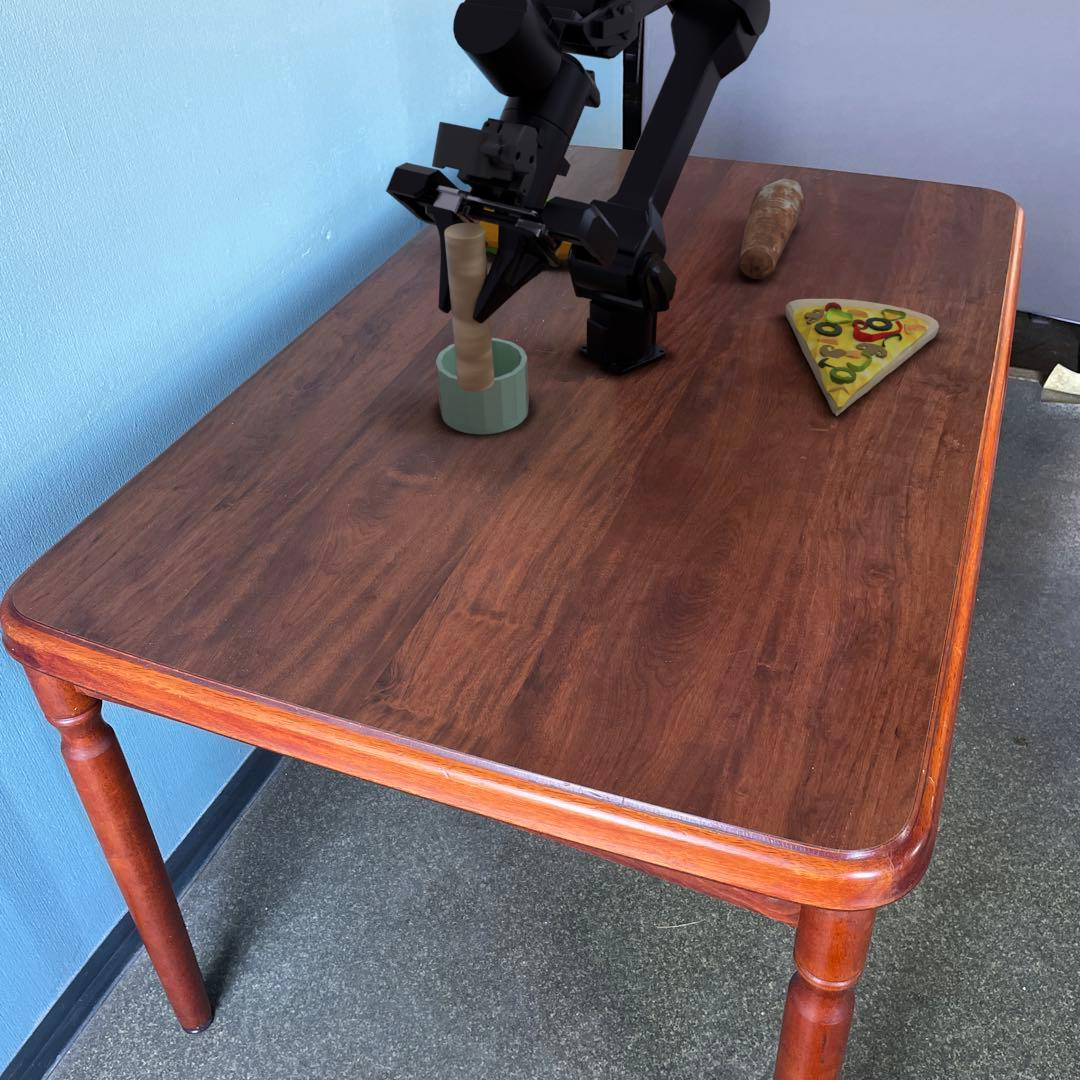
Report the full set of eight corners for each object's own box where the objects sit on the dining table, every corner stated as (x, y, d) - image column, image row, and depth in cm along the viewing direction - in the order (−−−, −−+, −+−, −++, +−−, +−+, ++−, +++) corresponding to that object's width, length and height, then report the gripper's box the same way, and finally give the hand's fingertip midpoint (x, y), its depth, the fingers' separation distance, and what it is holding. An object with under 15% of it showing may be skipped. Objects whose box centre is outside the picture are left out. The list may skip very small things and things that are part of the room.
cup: (495, 379, 105) (492, 329, 102) (545, 414, 100) (544, 362, 97) (424, 407, 102) (419, 356, 98) (473, 444, 97) (469, 391, 93)
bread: (803, 223, 134) (809, 179, 131) (775, 287, 120) (781, 239, 117) (752, 217, 136) (757, 173, 132) (719, 280, 122) (724, 233, 118)
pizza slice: (937, 328, 112) (943, 302, 110) (921, 431, 96) (928, 403, 95) (787, 308, 116) (791, 282, 114) (750, 404, 101) (753, 376, 99)
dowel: (491, 371, 89) (481, 220, 81) (496, 389, 87) (487, 236, 79) (455, 375, 89) (442, 224, 81) (460, 394, 87) (446, 240, 79)
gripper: (386, 54, 80) (308, 247, 80) (599, 90, 72) (512, 306, 72) (458, 130, 90) (388, 303, 90) (653, 170, 82) (576, 360, 82)
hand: (459, 316), depth 83 cm, fingers closed on dowel, 3 cm apart
